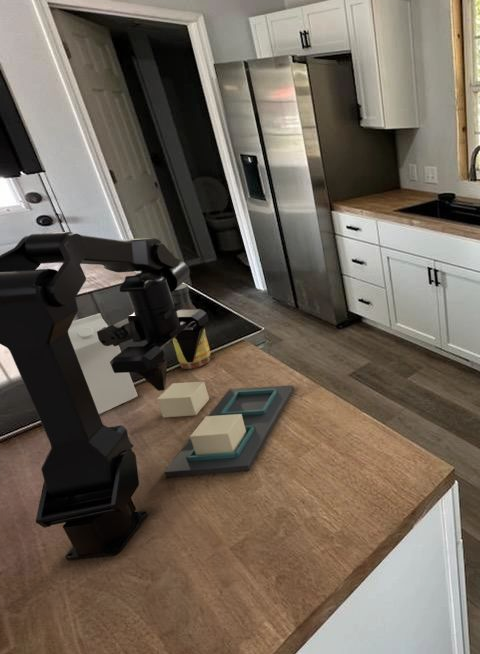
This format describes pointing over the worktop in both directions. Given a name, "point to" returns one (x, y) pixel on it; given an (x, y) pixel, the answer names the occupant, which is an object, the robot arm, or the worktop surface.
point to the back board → (259, 420)
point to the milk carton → (100, 364)
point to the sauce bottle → (203, 349)
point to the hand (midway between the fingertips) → (176, 375)
